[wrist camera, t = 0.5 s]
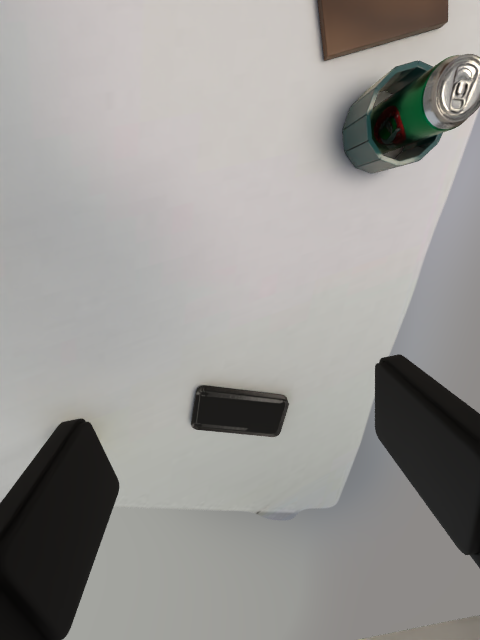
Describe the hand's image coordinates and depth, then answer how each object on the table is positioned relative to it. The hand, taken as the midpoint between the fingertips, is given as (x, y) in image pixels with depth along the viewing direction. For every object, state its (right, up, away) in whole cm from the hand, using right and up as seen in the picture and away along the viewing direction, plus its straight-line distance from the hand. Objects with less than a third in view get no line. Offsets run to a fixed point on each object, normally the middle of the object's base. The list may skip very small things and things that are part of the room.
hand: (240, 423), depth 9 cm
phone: (0, -12, +37) cm, 38 cm away
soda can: (+16, +26, +24) cm, 39 cm away
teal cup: (+16, +26, +24) cm, 39 cm away
